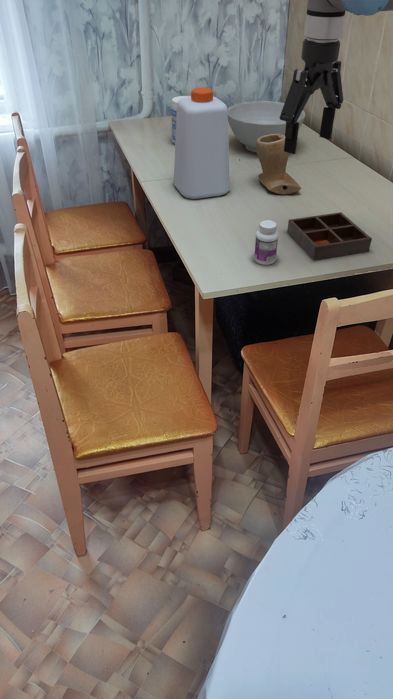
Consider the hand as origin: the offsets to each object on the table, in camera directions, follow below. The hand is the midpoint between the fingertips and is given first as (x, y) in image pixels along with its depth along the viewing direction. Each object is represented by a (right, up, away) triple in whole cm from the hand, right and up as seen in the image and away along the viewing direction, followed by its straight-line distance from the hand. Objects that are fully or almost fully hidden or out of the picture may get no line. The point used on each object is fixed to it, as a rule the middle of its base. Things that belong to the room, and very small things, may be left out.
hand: (307, 145), depth 123 cm
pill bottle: (-9, -25, +9) cm, 28 cm away
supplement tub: (-29, +29, +74) cm, 84 cm away
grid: (+8, -19, +17) cm, 26 cm away
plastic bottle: (-24, +2, +42) cm, 48 cm away
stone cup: (-1, +3, +43) cm, 44 cm away
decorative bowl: (-2, +25, +70) cm, 74 cm away
